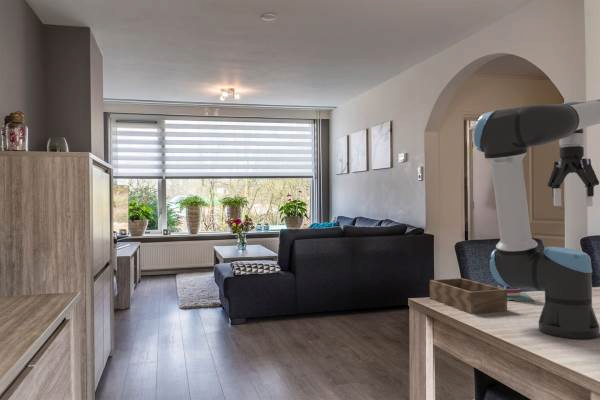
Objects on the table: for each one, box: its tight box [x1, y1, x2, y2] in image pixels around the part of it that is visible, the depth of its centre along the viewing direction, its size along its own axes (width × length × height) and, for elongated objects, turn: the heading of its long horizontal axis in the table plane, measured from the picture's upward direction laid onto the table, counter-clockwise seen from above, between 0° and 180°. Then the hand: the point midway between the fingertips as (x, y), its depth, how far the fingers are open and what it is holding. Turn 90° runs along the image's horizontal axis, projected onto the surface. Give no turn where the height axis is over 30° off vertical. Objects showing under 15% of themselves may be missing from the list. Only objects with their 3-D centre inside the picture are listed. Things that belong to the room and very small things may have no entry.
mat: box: [507, 292, 534, 302], centre depth 184 cm, size 14×14×1 cm
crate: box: [429, 277, 508, 314], centre depth 173 cm, size 26×14×7 cm, turn 15°
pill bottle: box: [497, 282, 522, 297], centre depth 184 cm, size 8×8×14 cm
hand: (572, 206), depth 171 cm, fingers open, 13 cm apart
